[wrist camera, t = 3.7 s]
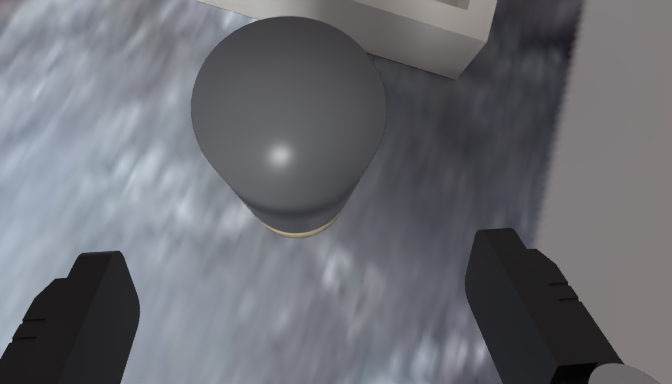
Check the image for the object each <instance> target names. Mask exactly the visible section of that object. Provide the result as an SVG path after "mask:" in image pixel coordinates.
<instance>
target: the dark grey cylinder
mask: <svg viewBox="0 0 672 384" xmlns="http://www.w3.org/2000/svg"><path fill="white" fill-rule="evenodd" d="M191 117H192V124H193V129H194V132H195V136H196V139H197V141H198V144H199V146H200V148H201V150H202V152H203V154H204V155H205V157H206V158H207V160H208V162H209V163H210V164H211V165H212V166H213V168H214V169H215V170H216V171H217V172H218V174H219V175H220V176H221V177H222V178H223V179H224V180H225V182H226V183H227V184H228V185H229V186H230V187H231V189H232V190H233V191H234V192H235V193H236V194H237V195H238V197H239V198H240V199H241V200H242V201H243V202H244V204H245V205H246V206H247V207H248V208H249V209H250V210H251V212H252V213H253V214H254V215H255V216H256V217H257V219H258V220H259V221H260V222H261V223H262V224H263V225H264V226H265V227H266V228H268V229H269V230H270V231H272V232H274V233H276V234H278V235H281V236H284V237H288V238H306V237H310V236H313V235H316V234H318V233H320V232H322V231H323V230H325V229H326V228H327V227H329V226H330V225H331V224H332V223H333V222H334V221H335V219H336V218H337V216H338V215H339V213H340V212H341V210H342V208H343V207H344V205H345V203H346V202H347V200H348V198H349V197H350V195H351V193H352V192H353V190H354V188H355V187H356V185H357V183H358V182H359V180H360V178H361V177H362V175H363V173H364V172H365V170H366V168H367V167H368V165H369V164H370V162H371V160H372V159H373V157H374V155H375V153H376V151H377V149H378V147H379V145H380V143H381V140H382V137H383V134H384V130H385V125H386V117H387V103H386V95H385V90H384V85H383V82H382V80H381V77H380V74H379V72H378V70H377V68H376V66H375V64H374V63H373V61H372V60H371V58H370V57H369V55H368V54H367V53H366V52H365V51H364V49H363V48H362V47H361V46H360V45H359V44H358V43H357V42H356V41H354V40H353V39H352V38H351V37H350V36H348V35H347V34H345V33H344V32H342V31H341V30H339V29H337V28H335V27H333V26H331V25H329V24H327V23H324V22H321V21H318V20H315V19H310V18H306V17H297V16H279V17H271V18H266V19H262V20H258V21H255V22H253V23H250V24H248V25H245V26H243V27H241V28H240V29H238V30H236V31H234V32H233V33H231V34H230V35H229V36H227V37H226V38H224V39H223V40H222V41H221V42H220V43H219V44H218V45H217V46H216V47H215V48H214V49H213V51H212V52H211V53H210V54H209V55H208V57H207V58H206V60H205V62H204V63H203V65H202V67H201V69H200V71H199V73H198V75H197V78H196V81H195V84H194V88H193V93H192V100H191Z"/></svg>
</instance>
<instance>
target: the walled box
mask: <svg viewBox="0 0 672 384" xmlns="http://www.w3.org/2000/svg"><path fill="white" fill-rule="evenodd" d="M197 1H200V2H204V3H207V4H210V5H213V6H217V7H220V8H223V9H226V10H230V11H233V12H236V13H239V14H243V15H246V16H249V17H252V18H256V19H259V20H262V19H266V18H271V17H279V16H297V17H306V18H310V19H315V20H318V21H321V22H324V23H327V24H329V25H331V26H333V27H335V28H337V29H339V30H341V31H342V32H344V33H345V34H347V35H348V36H350V37H351V38H352V39H353V40H354V41H356V42H357V43H358V44H359V45H360V46H361V47H362V48H363V49H364V51H365V52H367V53H370V54H373V55H376V56H380V57H383V58H386V59H389V60H393V61H396V62H399V63H402V64H406V65H409V66H412V67H415V68H419V69H422V70H425V71H429V72H432V73H435V74H438V75H442V76H445V77H448V78H451V79H455V80H456V79H457V78H458V77H459V76H460V74H461V73H462V72H463V71H464V70H465V68H466V67H467V66H468V65H469V63H470V62H471V61H472V60H473V59H474V57H475V56H476V55H477V54H478V52H479V51H480V50H481V49H482V48H483V46H484V45H485V44H486V43H487V40H488V36H489V32H490V28H491V24H492V20H493V16H494V12H495V8H496V4H497V0H197Z"/></svg>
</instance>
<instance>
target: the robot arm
mask: <svg viewBox="0 0 672 384" xmlns="http://www.w3.org/2000/svg"><path fill="white" fill-rule="evenodd" d="M465 290H466V296H467V300H468V302H469V305H470V307H471V310H472V312H473V314H474V317H475V319H476V322H477V324H478V326H479V329H480V331H481V333H482V336H483V338H484V340H485V343H486V345H487V347H488V350H489V352H490V354H491V357H492V359H493V362H494V364H495V366H496V369H497V371H498V373H499V376H500V378H501V380H502V383H503V384H660V383H659V382H658V381H656V380H655V379H654V378H652V377H651V376H649V375H648V374H646V373H644V372H643V371H641V370H638V369H636V368H634V367H631V366H627V365H625V364H624V363H623V362H622V361H621V359H620V358H619V356H618V355H617V354H616V352H615V351H614V349H613V348H612V346H611V345H610V343H609V342H608V340H607V339H606V337H605V336H604V334H603V333H602V332H601V330H600V329H599V327H598V326H597V324H596V323H595V321H594V320H593V318H592V317H591V315H590V314H589V312H588V311H587V309H586V308H585V307H584V305H583V304H582V302H579V300H578V296H577V295H576V293H575V292H574V290H573V289H572V287H571V286H568V281H567V280H566V279H565V277H564V276H563V274H562V273H561V271H560V270H559V268H558V267H557V265H556V264H555V263H554V262H552V261H551V260H550V259H549V258H547V257H546V256H545V255H544V254H542V253H541V252H540V251H538V250H537V249H526V247H525V246H524V244H523V243H522V241H521V239H520V238H519V236H518V235H517V233H516V232H515V231H514V230H513V229H512V228H502V229H485V230H478V231H477V232H476V234H475V237H474V242H473V246H472V250H471V254H470V259H469V263H468V267H467V272H466V276H465ZM139 317H140V305H139V299H138V295H137V292H136V290H135V287H134V284H133V281H132V278H131V276H130V273H129V270H128V267H127V264H126V262H125V259H124V256H123V254H122V253H121V252H120V251H106V252H89V253H82V254H80V255H79V256H78V258H77V259H76V261H75V263H74V265H73V267H72V269H71V271H70V273H69V275H68V277H67V278H59V279H55V280H53V281H52V282H51V283H50V284H49V285H48V286H47V287H46V288H45V289H44V290H43V291H42V292H41V293H40V294H38V295H37V296H36V297H35V298H34V300H33V302H32V304H31V305H30V307H29V309H28V311H27V313H26V314H25V316H24V318H23V323H22V324H20V325H19V327H18V329H17V330H16V332H15V334H14V336H13V337H12V339H13V340H12V343H9V345H8V346H7V348H6V350H5V352H4V354H3V355H2V357H1V359H0V384H120V383H121V380H122V376H123V373H124V370H125V367H126V363H127V360H128V357H129V354H130V350H131V347H132V344H133V340H134V337H135V334H136V331H137V327H138V324H139Z"/></svg>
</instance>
